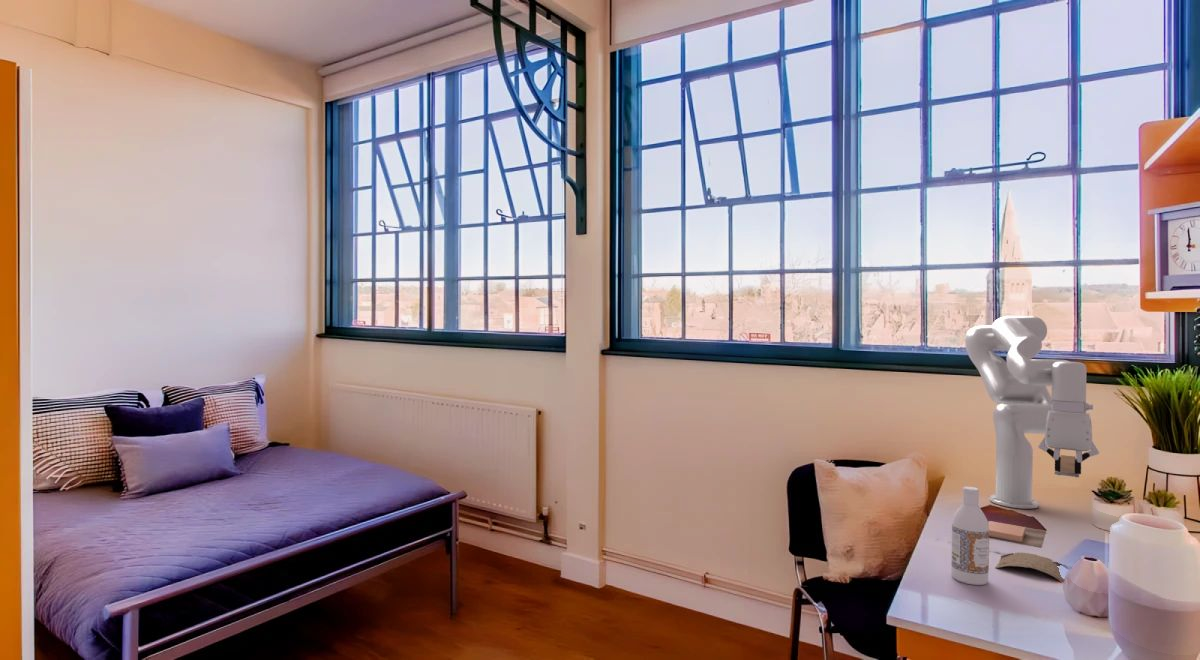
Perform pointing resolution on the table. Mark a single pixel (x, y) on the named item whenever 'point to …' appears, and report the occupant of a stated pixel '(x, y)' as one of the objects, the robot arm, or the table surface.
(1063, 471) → the tan block
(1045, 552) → the table surface
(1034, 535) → the walnut board
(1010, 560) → the clay tablet
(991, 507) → the table surface
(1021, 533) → the peach flat slab
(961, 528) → the bath foam
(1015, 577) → the table surface
